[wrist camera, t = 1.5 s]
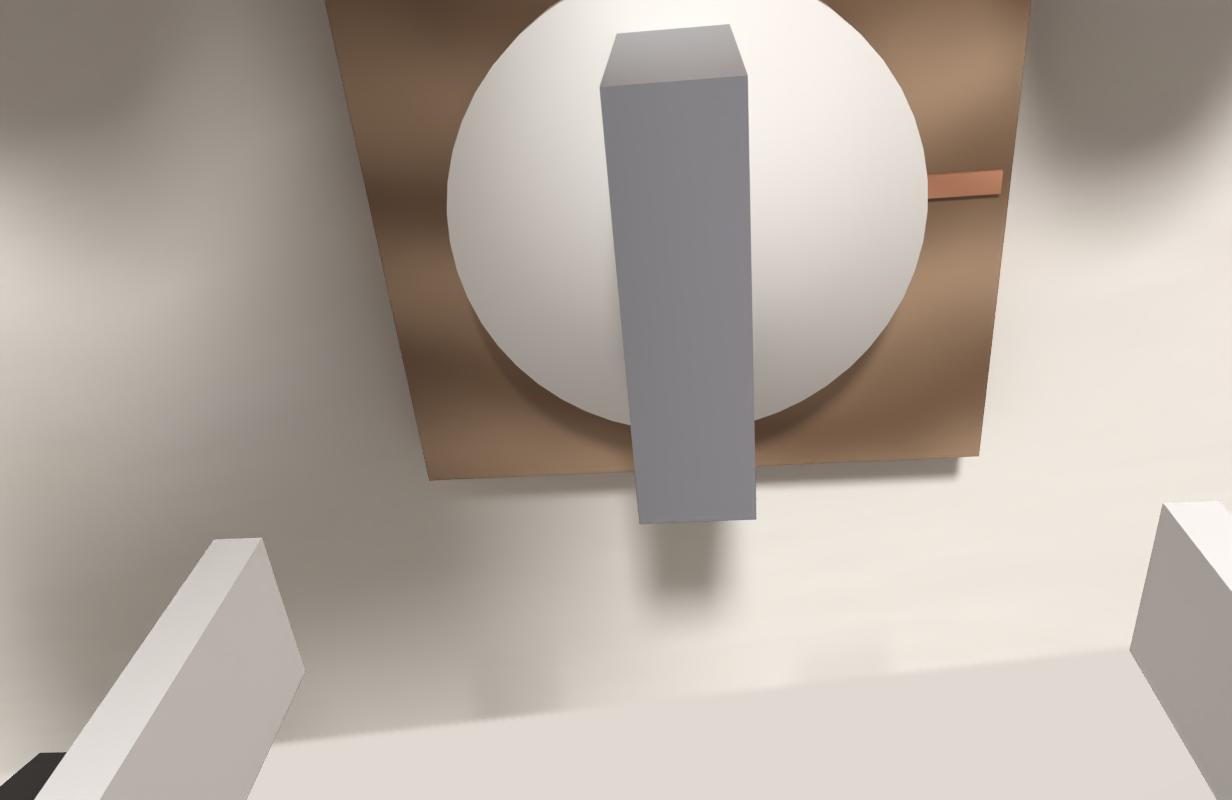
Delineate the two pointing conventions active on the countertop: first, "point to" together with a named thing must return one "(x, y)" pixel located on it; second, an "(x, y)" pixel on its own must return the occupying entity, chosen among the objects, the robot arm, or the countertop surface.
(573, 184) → the dial
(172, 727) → the robot arm
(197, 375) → the countertop surface
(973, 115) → the dial base
